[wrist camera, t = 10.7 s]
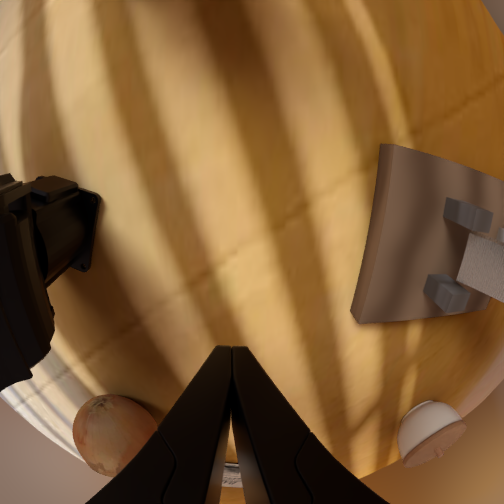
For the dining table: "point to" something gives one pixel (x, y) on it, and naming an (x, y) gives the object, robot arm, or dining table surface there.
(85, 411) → the onion
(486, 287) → the lever
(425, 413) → the lidded jar
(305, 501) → the robot arm
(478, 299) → the lever base
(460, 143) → the dining table surface
